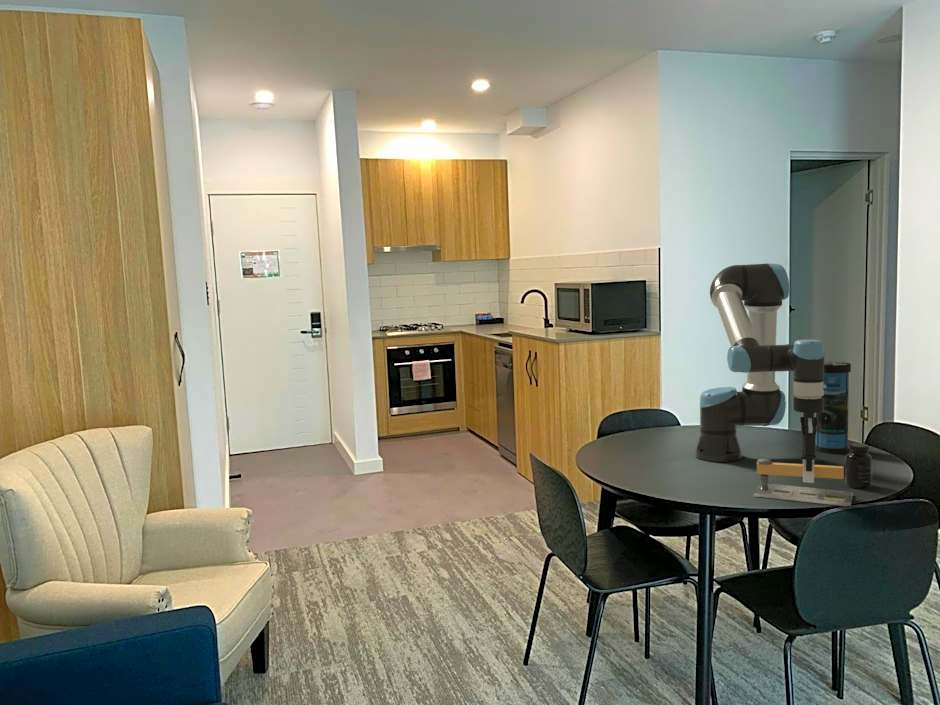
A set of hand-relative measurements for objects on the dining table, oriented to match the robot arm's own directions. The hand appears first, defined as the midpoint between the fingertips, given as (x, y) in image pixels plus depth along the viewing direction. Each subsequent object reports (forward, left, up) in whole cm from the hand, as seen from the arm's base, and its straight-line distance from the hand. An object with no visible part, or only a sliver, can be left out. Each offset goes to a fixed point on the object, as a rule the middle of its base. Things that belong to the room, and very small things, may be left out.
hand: (808, 481), depth 201 cm
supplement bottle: (+11, +17, -5) cm, 21 cm away
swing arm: (-3, +3, +1) cm, 4 cm away
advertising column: (+1, +60, -5) cm, 61 cm away
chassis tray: (-2, +1, -5) cm, 5 cm away
